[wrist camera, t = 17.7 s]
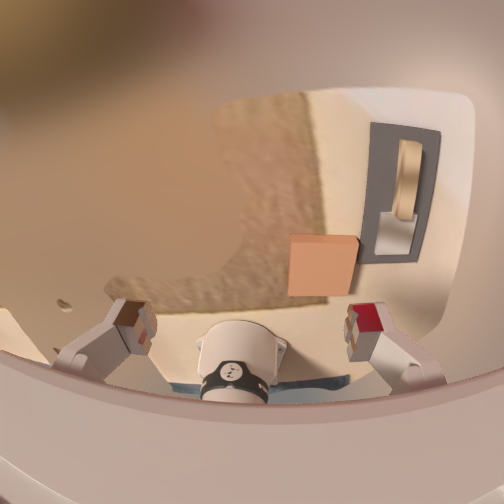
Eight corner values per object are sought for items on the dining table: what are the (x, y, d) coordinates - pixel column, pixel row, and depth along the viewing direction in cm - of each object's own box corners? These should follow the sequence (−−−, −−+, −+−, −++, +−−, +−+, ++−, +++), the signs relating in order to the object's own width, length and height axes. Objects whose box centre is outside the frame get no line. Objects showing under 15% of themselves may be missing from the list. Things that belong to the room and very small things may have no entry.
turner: (406, 251, 42) (412, 259, 40) (374, 252, 42) (378, 260, 40) (425, 141, 32) (433, 146, 30) (388, 137, 32) (394, 141, 30)
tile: (354, 234, 42) (344, 285, 47) (290, 233, 43) (287, 285, 48) (359, 243, 40) (347, 295, 45) (291, 242, 40) (287, 296, 46)
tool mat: (415, 259, 43) (416, 261, 42) (356, 261, 44) (357, 263, 43) (438, 131, 31) (440, 131, 31) (370, 122, 32) (372, 122, 32)
